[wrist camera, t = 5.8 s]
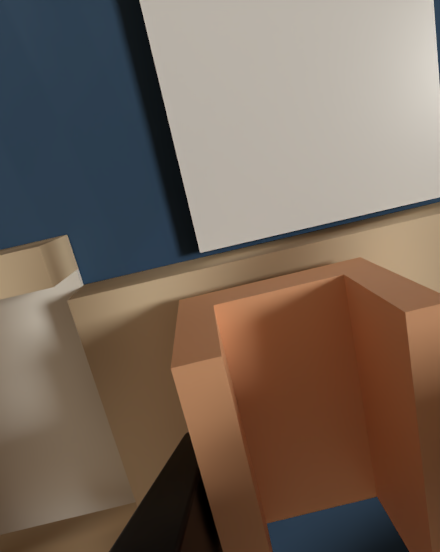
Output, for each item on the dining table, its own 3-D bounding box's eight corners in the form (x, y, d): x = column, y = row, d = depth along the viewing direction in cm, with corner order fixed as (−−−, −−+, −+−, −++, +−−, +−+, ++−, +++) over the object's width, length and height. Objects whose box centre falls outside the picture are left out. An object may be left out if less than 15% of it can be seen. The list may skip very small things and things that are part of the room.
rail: (447, 146, 11) (502, 139, 9) (468, 442, 13) (515, 486, 11) (-288, 316, 11) (-396, 346, 9) (-128, 586, 13) (-184, 656, 11)
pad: (409, -114, 9) (423, -134, 9) (434, 194, 11) (447, 195, 11) (127, -51, 9) (123, -67, 9) (199, 248, 11) (200, 252, 10)
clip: (359, 257, 9) (455, 300, 6) (388, 461, 11) (477, 589, 7) (179, 300, 9) (170, 368, 6) (232, 499, 11) (250, 645, 7)
